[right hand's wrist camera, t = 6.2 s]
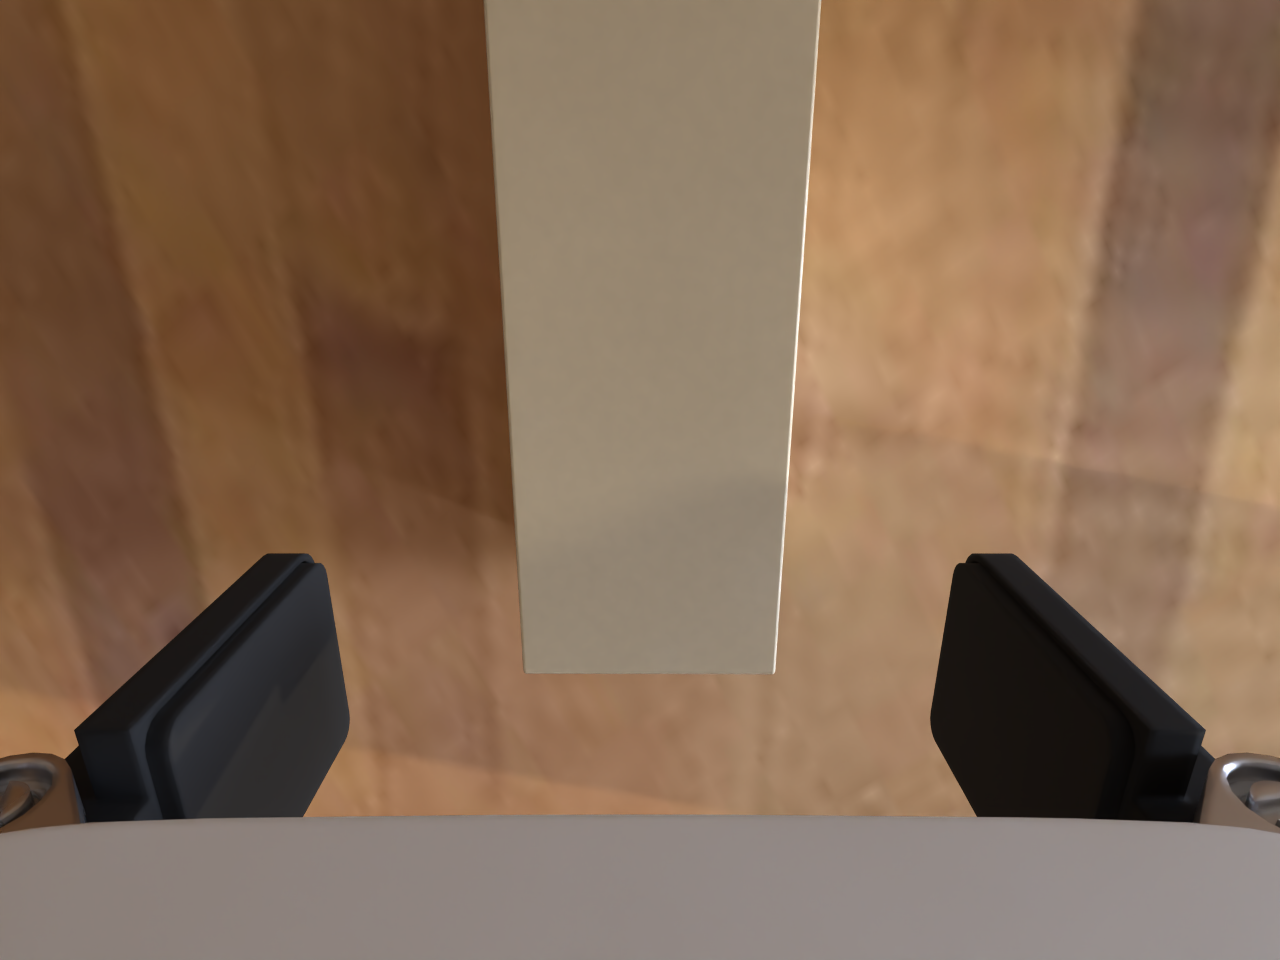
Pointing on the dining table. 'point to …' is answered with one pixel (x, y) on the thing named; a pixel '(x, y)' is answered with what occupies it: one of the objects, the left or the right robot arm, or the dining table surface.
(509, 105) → the cabinet
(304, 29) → the dining table surface
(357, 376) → the dining table surface
